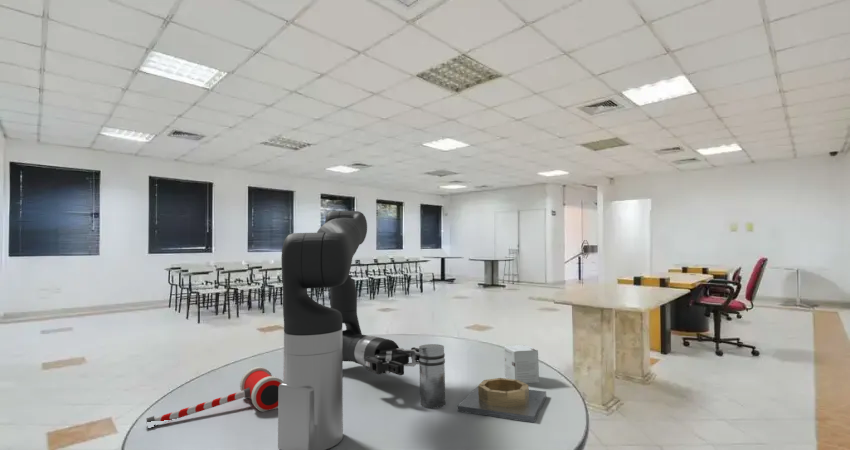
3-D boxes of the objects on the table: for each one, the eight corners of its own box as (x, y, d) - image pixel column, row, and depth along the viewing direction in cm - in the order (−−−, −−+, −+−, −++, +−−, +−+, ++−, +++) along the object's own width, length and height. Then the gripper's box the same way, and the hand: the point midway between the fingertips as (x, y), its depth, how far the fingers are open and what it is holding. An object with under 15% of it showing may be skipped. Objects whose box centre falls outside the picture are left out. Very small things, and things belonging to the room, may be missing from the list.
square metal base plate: (534, 422, 68) (533, 401, 68) (457, 411, 73) (457, 391, 74) (546, 396, 80) (545, 378, 80) (480, 388, 86) (479, 372, 86)
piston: (439, 410, 74) (438, 350, 75) (415, 406, 77) (414, 348, 78) (450, 401, 79) (448, 345, 80) (426, 397, 81) (425, 343, 82)
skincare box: (504, 377, 94) (503, 345, 95) (527, 375, 96) (526, 344, 96) (515, 384, 88) (514, 351, 89) (540, 382, 90) (538, 349, 90)
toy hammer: (147, 441, 65) (149, 401, 65) (144, 420, 74) (146, 385, 75) (287, 408, 78) (287, 375, 79) (270, 393, 88) (270, 364, 88)
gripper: (350, 341, 90) (390, 353, 77) (400, 333, 99) (444, 342, 86) (350, 375, 89) (391, 392, 77) (401, 364, 98) (445, 377, 86)
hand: (419, 365), depth 81 cm, fingers open, 8 cm apart
